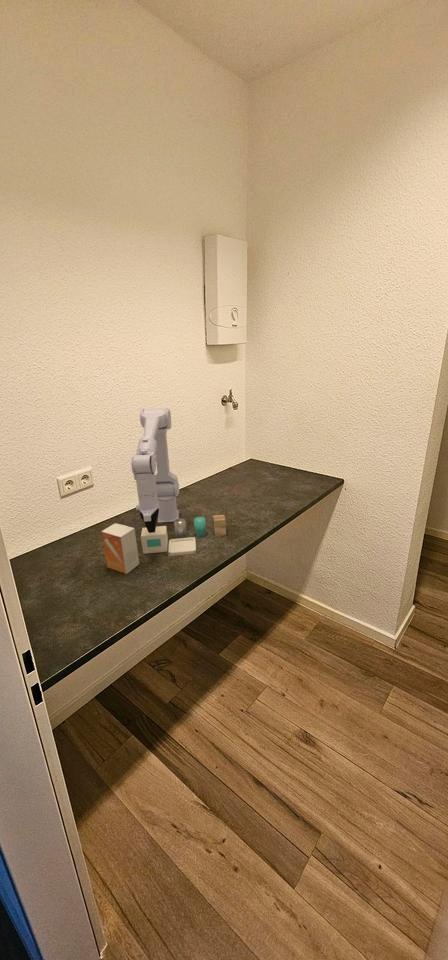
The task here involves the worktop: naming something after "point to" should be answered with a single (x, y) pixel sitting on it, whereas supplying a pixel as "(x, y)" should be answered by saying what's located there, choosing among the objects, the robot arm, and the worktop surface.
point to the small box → (120, 548)
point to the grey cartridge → (180, 528)
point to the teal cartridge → (200, 526)
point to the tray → (182, 546)
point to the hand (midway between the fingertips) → (151, 531)
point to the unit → (154, 540)
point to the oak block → (219, 525)
